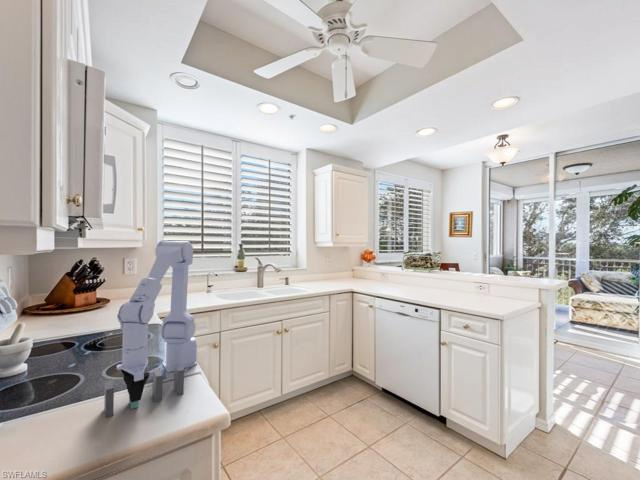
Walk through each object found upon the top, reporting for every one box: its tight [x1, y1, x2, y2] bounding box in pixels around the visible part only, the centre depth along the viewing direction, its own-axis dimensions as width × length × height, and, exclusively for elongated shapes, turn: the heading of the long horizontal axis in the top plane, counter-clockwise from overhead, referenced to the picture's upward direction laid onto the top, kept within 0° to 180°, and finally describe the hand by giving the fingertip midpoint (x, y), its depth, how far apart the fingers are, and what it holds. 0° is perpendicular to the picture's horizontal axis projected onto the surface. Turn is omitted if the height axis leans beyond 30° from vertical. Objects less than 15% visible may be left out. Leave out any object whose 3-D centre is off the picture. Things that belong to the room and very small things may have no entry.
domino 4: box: [173, 364, 185, 396], centre depth 83 cm, size 2×4×7 cm, turn 40°
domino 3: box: [152, 368, 164, 403], centre depth 80 cm, size 2×4×7 cm, turn 40°
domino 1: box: [103, 380, 115, 418], centre depth 73 cm, size 2×4×7 cm, turn 40°
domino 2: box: [128, 395, 140, 410], centre depth 76 cm, size 2×4×7 cm, turn 40°
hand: (134, 396), depth 76 cm, fingers closed on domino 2, 4 cm apart
